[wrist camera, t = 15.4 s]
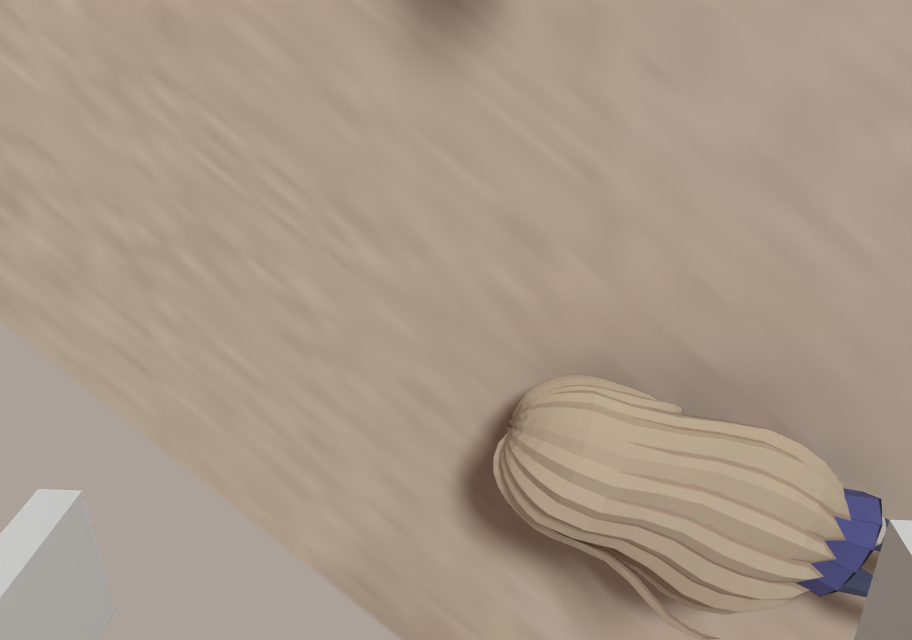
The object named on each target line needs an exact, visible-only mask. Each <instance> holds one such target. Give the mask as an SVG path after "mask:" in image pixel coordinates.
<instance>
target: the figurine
mask: <svg viewBox="0 0 912 640" xmlns="http://www.w3.org/2000/svg"><path fill="white" fill-rule="evenodd" d="M509 423H510V424H511V426H512V427H509V428H506V429H507V431H508V432H507V433H506V434H505V436H504V437H503V438H502V440H501V441H500V442H499V443H498V446H497V449H496V452H495V455H494V472H493V473H494V476H495V479H496V482H497V485H498V488H499V490H500V491H501V493H502V494H503V496H504V497H505V499H506V500H507V502H508V503H509V505H510V506H511V507H512V508H513V509H514V510H515V511H516V513H517V514H518V515H519V516H520V517H521V518H522V519H523V520H525V521H526V522H527V523H528V524H529V525H530V526H531V527H532V528H534V529H535V530H537V531H539V532H541V533H543V534H544V535H546V536H548V537H550V538H552V539H555V540H557V541H560V542H562V543H565V544H567V545H570V546H573V547H575V548H577V549H579V550H581V551H584V552H586V553H588V554H590V555H592V556H594V557H597V558H599V559H601V560H603V561H605V562H606V563H607V564H608V565H610V566H611V567H612V568H613V569H614V570H616V571H617V572H618V573H619V574H620V575H621V576H623V577H624V578H625V579H626V580H627V581H628V582H629V583H630V584H631V585H632V586H633V587H634V588H635V589H636V591H637V592H638V593H639V594H640V595H641V596H642V597H643V599H644V600H645V601H646V602H647V603H648V604H649V605H650V606H651V607H652V608H653V609H654V610H655V612H656V613H657V614H658V615H659V616H660V617H661V618H662V619H663V620H664V621H666V622H667V623H669V624H670V625H672V626H673V627H675V628H676V629H678V630H679V631H681V632H684V633H686V634H688V635H691V636H693V637H696V638H698V639H701V640H709V639H719V638H716V637H712V636H708V635H705V634H701V633H699V632H698V631H696V630H694V629H692V628H690V627H688V626H687V625H685V624H684V623H682V622H681V621H680V620H678V619H677V618H675V617H674V616H672V615H671V614H670V613H669V612H668V611H667V610H666V609H665V607H664V606H663V605H662V604H661V603H660V602H659V601H658V600H657V599H656V598H655V596H654V595H653V594H652V593H651V592H650V591H649V590H648V588H647V587H646V586H645V585H644V584H643V583H642V581H641V580H640V579H639V578H638V577H637V576H636V575H635V574H634V573H632V572H631V571H630V570H629V569H627V568H626V567H625V566H624V565H622V564H621V563H620V562H619V561H617V560H616V559H615V558H614V557H612V556H610V555H608V554H607V553H606V552H605V551H604V550H602V549H600V548H598V547H601V548H604V549H605V550H607V551H608V552H610V553H611V554H612V555H614V556H615V557H617V558H618V559H620V560H621V561H623V562H624V563H626V564H627V565H629V566H630V567H631V568H633V569H634V570H636V571H637V572H638V573H639V574H640V575H642V576H643V577H644V578H645V579H646V580H648V581H649V582H650V583H651V584H652V585H654V586H655V587H656V588H657V589H658V590H660V591H661V592H662V593H663V594H664V595H666V596H668V597H670V598H672V599H674V600H676V601H678V602H680V603H683V604H685V605H687V606H689V607H691V608H693V609H696V610H701V611H707V612H712V613H718V614H733V613H742V612H751V611H758V610H767V609H773V608H775V607H778V606H780V605H782V604H785V603H787V602H789V601H791V600H794V599H796V598H792V597H794V596H797V595H799V594H802V593H804V592H807V591H809V590H810V591H812V592H813V593H815V594H817V595H818V596H820V597H821V596H824V595H828V594H831V593H834V592H837V591H839V592H844V593H848V594H853V595H858V596H862V597H867V595H868V591H869V588H870V585H871V581H872V578H873V575H871V574H870V573H868V572H867V571H865V570H863V569H862V568H861V567H862V565H863V564H864V563H865V561H866V560H867V559H868V557H869V556H870V555H871V553H872V552H873V551H874V550H876V551H881V548H882V544H883V541H884V537H885V534H886V531H887V527H888V524H889V520H888V519H886V518H884V517H883V516H882V506H881V499H880V498H877V497H875V496H872V495H869V494H867V493H864V492H860V491H855V490H850V489H844V488H843V485H842V484H841V482H840V481H839V480H838V478H837V477H836V476H835V474H834V473H833V472H832V470H831V469H830V467H829V466H828V465H827V463H825V462H824V461H823V460H821V459H820V458H819V457H818V456H816V455H815V454H814V453H812V452H811V451H810V450H809V449H807V448H806V447H805V446H803V445H802V444H799V443H797V442H795V441H793V440H791V439H788V438H786V437H784V436H782V435H780V434H778V433H775V432H773V431H771V430H768V429H765V428H761V427H756V426H750V425H745V424H739V423H733V422H728V421H722V420H716V419H709V418H703V417H696V416H689V415H683V412H682V409H681V407H679V406H677V405H674V404H670V403H665V402H659V401H658V400H657V399H655V398H654V397H652V396H650V395H647V394H645V393H643V392H640V391H637V390H635V389H632V388H630V387H626V386H623V385H620V384H617V383H614V382H612V381H610V380H606V379H602V378H598V377H594V376H586V375H570V376H564V377H559V378H556V379H553V380H550V381H547V382H545V383H542V384H540V385H538V386H536V387H535V388H533V389H531V390H530V391H529V392H528V393H527V394H526V395H524V397H523V398H522V399H521V400H520V402H519V403H518V405H517V408H515V410H514V411H513V419H512V420H509ZM596 546H598V547H596ZM796 582H798V583H800V584H801V585H802V586H800V585H798V584H796ZM803 586H804V587H803Z"/></svg>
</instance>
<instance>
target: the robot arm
mask: <svg viewBox="0 0 912 640" xmlns="http://www.w3.org/2000/svg"><path fill="white" fill-rule="evenodd" d="M115 611H116V610H115V607H114V603H113V599H112V596H111V592H110V589H109V585H108V581H107V578H106V574H105V571H104V567H103V564H102V560H101V556H100V553H99V550H98V546H97V542H96V539H95V535H94V531H93V528H92V524H91V521H90V517H89V514H88V511H87V507H86V503H85V499H84V496H83V493H82V491H74V490H47V489H38V490H37V491H36V493H35V494H34V495H33V496H32V497H31V498H30V500H29V501H28V502H27V503H26V505H25V506H24V507H23V508H22V509H21V510H20V511H19V513H18V514H17V515H16V516H15V517H14V519H13V520H12V521H11V522H10V523H9V524H8V526H7V527H6V528H5V529H4V530H3V532H2V533H1V534H0V640H99V638H100V636H101V635H102V633H103V631H104V630H105V628H106V626H107V624H108V623H109V621H110V619H111V617H112V616H113V614H114V612H115ZM854 640H912V521H908V520H890V521H889V524H888V527H887V531H886V534H885V537H884V541H883V544H882V548H881V551H880V554H879V558H878V561H877V564H876V568H875V571H874V575H873V578H872V581H871V585H870V588H869V591H868V595H867V598H866V602H865V605H864V608H863V612H862V615H861V618H860V622H859V625H858V629H857V632H856V635H855V639H854Z"/></svg>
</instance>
